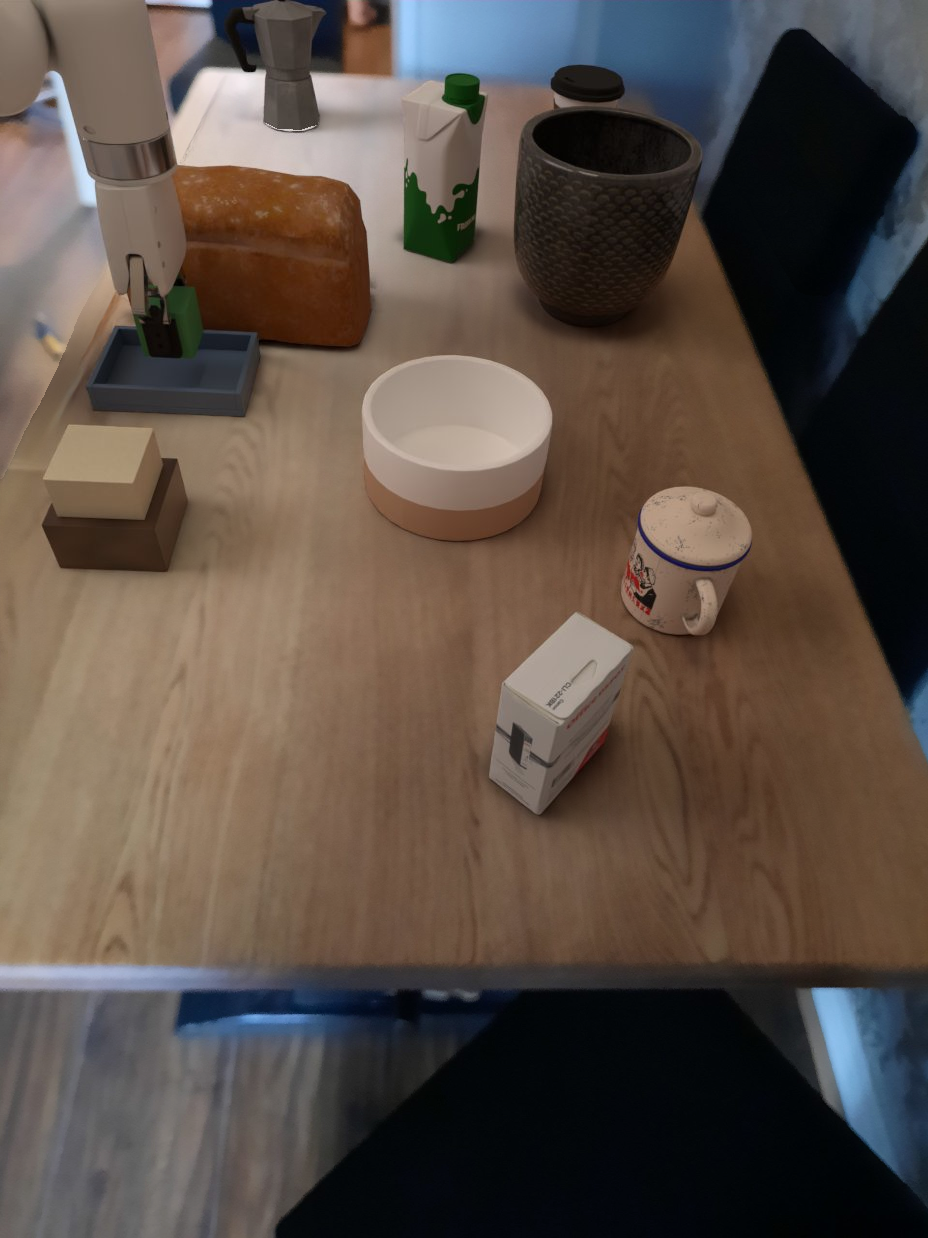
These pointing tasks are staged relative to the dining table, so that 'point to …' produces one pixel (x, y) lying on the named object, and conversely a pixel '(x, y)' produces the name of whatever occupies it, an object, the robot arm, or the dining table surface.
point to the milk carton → (442, 165)
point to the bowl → (455, 446)
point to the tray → (176, 375)
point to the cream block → (104, 472)
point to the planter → (600, 208)
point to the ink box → (557, 710)
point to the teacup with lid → (684, 559)
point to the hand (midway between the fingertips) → (172, 338)
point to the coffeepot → (281, 58)
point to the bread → (275, 254)
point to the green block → (179, 319)
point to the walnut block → (123, 531)
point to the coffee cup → (586, 86)
